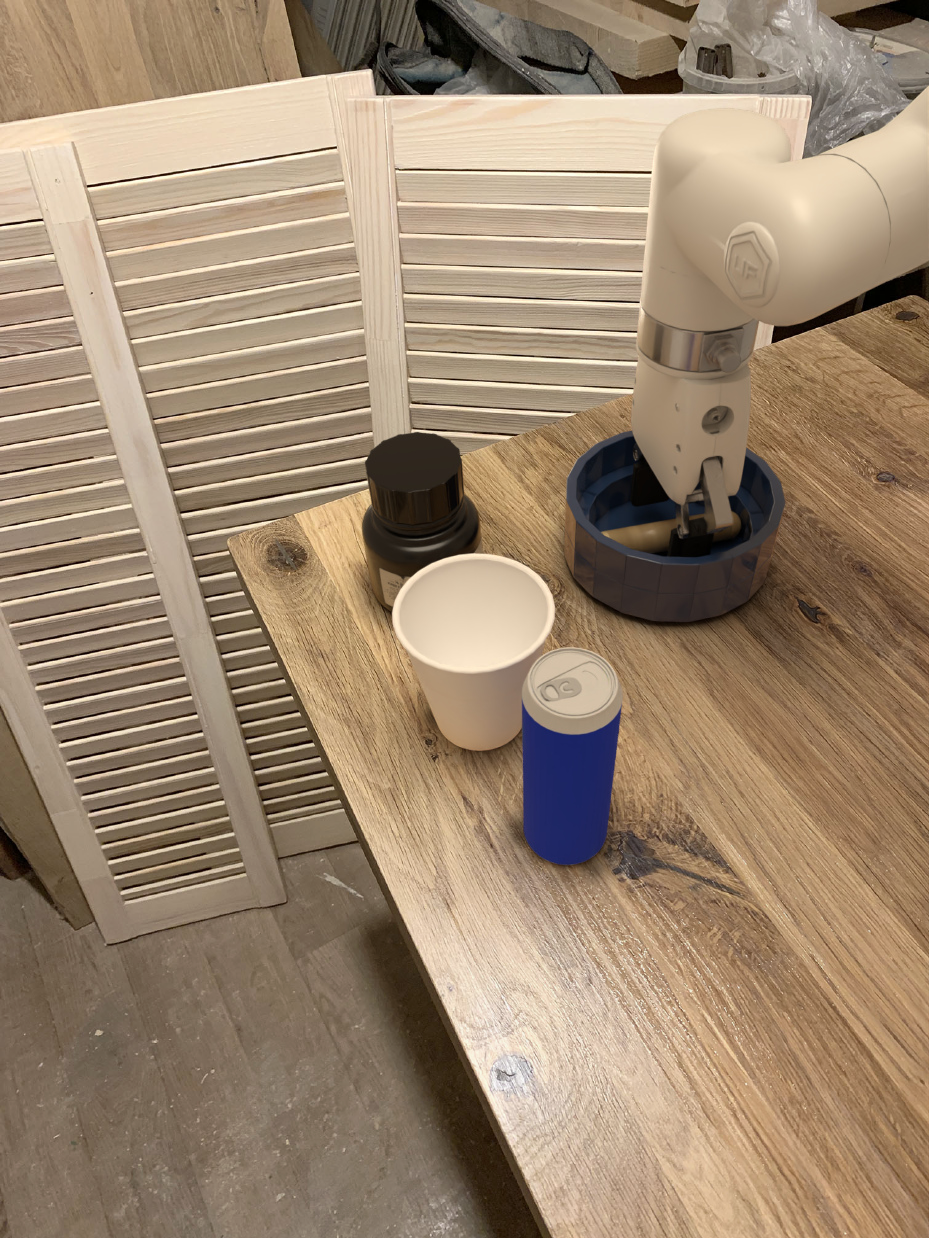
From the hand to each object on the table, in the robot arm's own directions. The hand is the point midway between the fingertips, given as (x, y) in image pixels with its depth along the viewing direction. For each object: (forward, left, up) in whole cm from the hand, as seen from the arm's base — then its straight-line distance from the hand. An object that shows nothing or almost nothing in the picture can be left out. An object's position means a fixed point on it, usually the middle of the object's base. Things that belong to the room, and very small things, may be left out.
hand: (667, 532), depth 73 cm
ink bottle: (+19, -2, -2) cm, 19 cm away
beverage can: (+15, +22, -2) cm, 27 cm away
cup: (+18, +12, -2) cm, 22 cm away
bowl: (0, 0, -2) cm, 2 cm away
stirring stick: (0, 0, -2) cm, 2 cm away
